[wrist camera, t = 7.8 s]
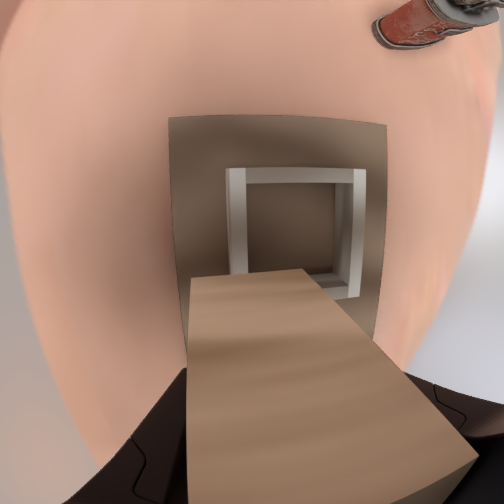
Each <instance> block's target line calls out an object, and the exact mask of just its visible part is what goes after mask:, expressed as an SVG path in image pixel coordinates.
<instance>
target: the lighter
mask: <svg viewBox="0 0 504 504" xmlns="http://www.w3.org/2000/svg"><path fill="white" fill-rule="evenodd" d="M496 7H499V8H504V0H411V1H410V2H408V3H406V4H405V5H403V6H402V7H400V8H399V9H397V10H396V11H394V12H392V13H391V14H388V15H386V16H383V17H380V18H379V19H378V20H376V21H375V22H374V23H373V24H372V33H373V35H374V37H375V39H376V40H377V42H378V43H379V44H380V45H381V46H383V47H385V48H387V49H394V50H413V49H420V48H424V47H428V46H431V45H433V44H436V43H438V42H440V41H442V40H444V39H445V38H446V37H447V36H452V35H457V34H461V33H464V32H467V31H470V30H472V29H473V27H480V26H485V25H488V24H491V23H494V22H496V21H498V20H499V14H498V11H497V9H496Z"/></svg>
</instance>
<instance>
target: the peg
mask: <svg viewBox="0 0 504 504" xmlns="http://www.w3.org/2000/svg"><path fill="white" fill-rule="evenodd" d="M186 440H187V480H188V503H189V504H442V503H443V502H444V501H445V500H446V498H447V497H448V496H449V495H450V494H451V492H452V491H453V490H454V489H455V488H456V486H457V485H458V484H459V482H460V481H461V480H462V479H463V477H464V476H465V475H466V473H467V472H468V471H469V469H470V468H471V466H472V465H473V464H474V462H475V461H476V459H477V458H478V456H479V455H478V453H477V452H476V451H475V450H474V449H473V448H472V447H471V446H470V444H469V443H468V442H467V441H466V440H465V439H464V438H463V437H462V436H461V434H460V433H459V432H458V431H457V430H456V429H455V428H454V427H453V426H452V424H451V423H450V422H449V421H448V420H447V419H446V418H445V417H444V416H443V415H442V414H441V412H440V411H439V410H438V409H437V408H436V407H435V406H434V405H433V404H432V403H431V402H430V401H429V399H428V398H427V397H426V396H425V395H424V394H423V393H422V392H421V391H420V390H419V389H418V388H417V387H416V385H415V384H414V383H413V382H412V381H411V380H410V379H409V378H408V377H407V376H406V375H405V374H404V373H403V372H402V371H401V370H400V368H399V367H398V366H397V365H396V364H395V363H394V362H393V361H392V360H391V359H390V358H389V357H388V356H387V355H386V354H385V353H384V352H383V351H382V350H381V349H380V347H379V346H378V345H377V344H376V343H375V342H374V341H373V340H372V339H371V338H370V337H369V336H368V335H367V334H366V333H365V332H364V331H363V330H362V329H361V328H360V327H359V326H358V325H357V324H356V323H355V322H354V321H353V320H352V318H351V317H350V316H349V315H348V314H347V313H346V312H345V311H344V310H343V309H342V308H341V307H340V306H339V305H338V304H337V303H336V302H335V301H334V300H333V299H332V298H331V297H330V296H329V295H328V294H327V293H326V292H325V291H324V290H323V289H322V288H321V287H320V286H319V285H318V284H317V283H316V282H315V281H314V280H313V279H312V278H311V277H310V276H309V275H308V274H307V273H306V272H305V271H304V270H303V269H291V270H280V271H269V272H258V273H246V274H234V275H222V276H209V277H196V278H191V287H190V304H189V324H188V349H187V392H186Z"/></svg>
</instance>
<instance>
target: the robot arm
mask: <svg viewBox="0 0 504 504" xmlns="http://www.w3.org/2000/svg"><path fill="white" fill-rule="evenodd" d="M402 372H403V371H402ZM403 373H404V374H405V375H406V376H407V377H408V378H409V379H410V380H411V381H412V382H413V383H414V384H415V385H416V387H417V388H418V389H419V390H420V391H421V392H422V393H423V394H424V395H425V396H426V397H427V398H428V399H429V401H430V402H431V403H432V404H433V405H434V406H435V407H436V408H437V409H438V410H439V411H440V412H441V414H442V415H443V416H444V417H445V418H446V419H447V420H448V421H449V422H450V423H451V424H452V426H453V427H454V428H455V429H456V430H457V431H458V432H459V433H460V434H461V436H462V437H463V438H464V439H465V440H466V441H467V442H468V443H469V444H470V446H471V447H472V448H473V449H474V450H475V451H476V452H477V453H478V455H479V456H478V458H477V459H476V461H475V462H474V464H473V465H472V466H471V468H470V469H469V471H468V472H467V473H466V475H465V476H464V477H463V479H462V480H461V481H460V482H459V484H458V485H457V486H456V488H455V489H454V490H453V491H452V492H451V494H450V495H449V496H448V497H447V498H446V500H445V501H444V502H443V503H442V504H504V404H499V403H495V402H491V401H487V400H483V399H480V398H476V397H472V396H468V395H465V394H461V393H458V392H455V391H452V390H449V389H447V388H443V387H441V386H439V385H436V384H434V385H433V384H432V383H431V382H428V381H426V380H423V379H420V378H418V377H415V376H413V375H410V374H408V373H405V372H403ZM186 392H187V368H183V369H182V370H181V372H180V373H179V374H178V376H177V377H176V378H175V379H174V381H173V382H172V383H171V385H170V386H169V387H168V389H167V390H166V391H165V392H164V394H163V395H162V396H161V398H160V399H159V400H158V401H157V403H156V404H155V405H154V407H153V408H152V409H151V410H150V412H149V413H148V414H147V416H146V417H145V418H144V419H143V421H142V422H141V423H140V425H139V426H138V427H137V428H136V430H135V431H134V432H133V434H132V435H131V436H130V438H129V439H128V440H127V441H126V442H125V444H124V445H123V446H122V447H121V448H120V450H119V451H118V452H117V453H116V454H115V456H114V457H113V458H112V459H111V460H110V461H109V462H108V463H107V464H106V465H105V466H104V467H103V468H102V469H101V470H100V471H99V472H98V473H97V474H96V475H95V476H94V477H93V478H92V479H91V480H89V481H88V482H87V483H86V484H85V485H84V486H83V487H82V488H81V489H80V490H79V491H78V492H76V493H75V494H74V495H73V496H72V497H71V498H70V499H68V500H67V501H65V502H64V503H62V504H189V503H188V480H187V440H186Z"/></svg>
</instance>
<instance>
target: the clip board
mask: <svg viewBox="0 0 504 504" xmlns="http://www.w3.org/2000/svg"><path fill="white" fill-rule="evenodd" d="M169 162H170V187H171V205H172V221H173V235H174V247H175V259H176V269H177V279H178V289H179V298H180V306H181V315H182V323H183V330H184V338H185V345H186V352H187V349H188V324H189V304H190V287H191V278H196V277H209V276H222V275H234V274H246V273H258V272H269V271H280V270H291V269H303V270H304V271H305V272H306V273H307V274H308V275H309V276H310V277H311V278H312V279H313V280H314V281H315V282H316V283H317V284H318V285H319V286H320V287H321V288H322V289H323V290H324V291H325V292H326V293H327V294H328V295H329V296H330V297H331V298H332V299H333V300H334V301H335V302H336V303H337V304H338V305H339V306H340V307H341V308H342V309H343V310H344V311H345V312H346V313H347V314H348V315H349V316H350V317H351V318H352V320H353V321H354V322H355V323H356V324H357V325H358V326H359V327H360V328H361V329H362V330H363V331H364V332H365V333H366V334H367V335H368V336H369V337H370V338H371V339H372V340H373V334H374V328H375V322H376V315H377V308H378V301H379V293H380V285H381V276H382V267H383V256H384V244H385V230H386V211H387V125H382V124H375V123H368V122H360V121H351V120H341V119H331V118H318V117H303V116H283V115H207V116H187V117H172V118H169Z"/></svg>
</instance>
